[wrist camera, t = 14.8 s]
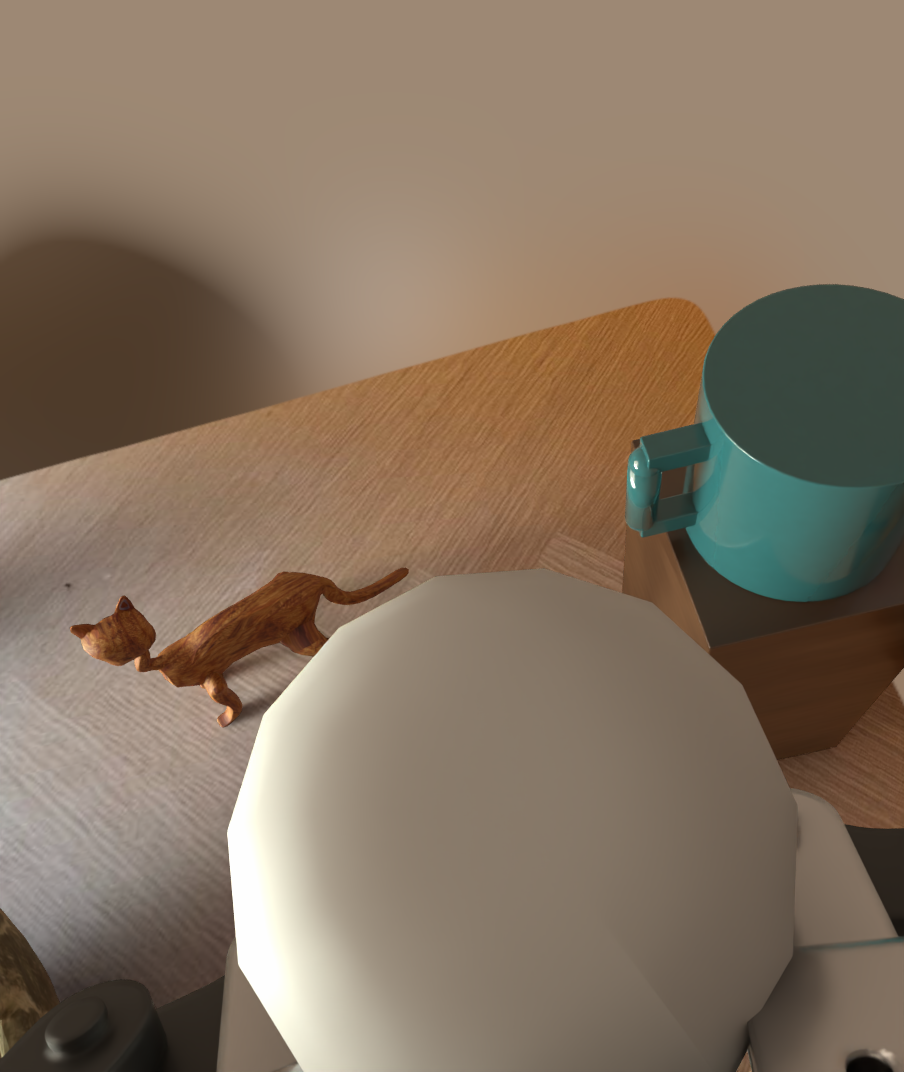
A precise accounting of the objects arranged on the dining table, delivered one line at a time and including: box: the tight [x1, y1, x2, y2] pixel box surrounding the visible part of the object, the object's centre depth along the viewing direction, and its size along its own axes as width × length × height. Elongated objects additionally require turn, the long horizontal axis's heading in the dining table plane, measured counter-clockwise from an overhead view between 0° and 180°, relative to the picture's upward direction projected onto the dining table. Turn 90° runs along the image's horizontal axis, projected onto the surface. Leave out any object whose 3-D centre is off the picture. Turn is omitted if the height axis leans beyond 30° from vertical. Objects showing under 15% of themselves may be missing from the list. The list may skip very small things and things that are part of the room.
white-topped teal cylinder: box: [625, 284, 904, 602], centre depth 31 cm, size 11×8×8 cm
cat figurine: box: [70, 568, 409, 727], centre depth 52 cm, size 18×7×14 cm, turn 122°
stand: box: [622, 439, 904, 760], centre depth 43 cm, size 10×10×21 cm
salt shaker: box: [227, 568, 798, 1072], centre depth 11 cm, size 6×6×13 cm
